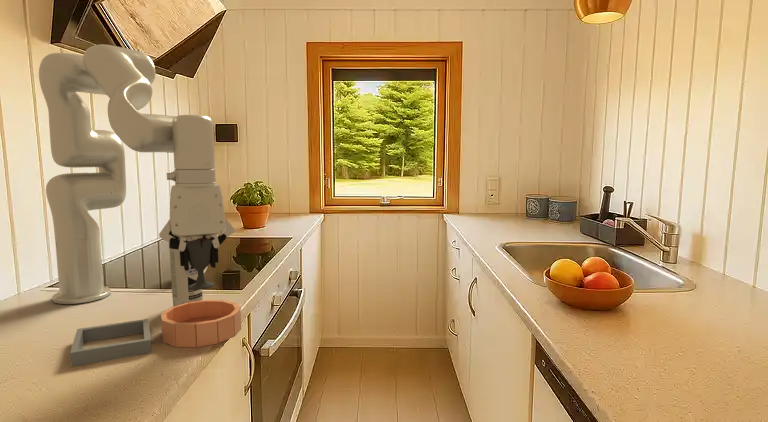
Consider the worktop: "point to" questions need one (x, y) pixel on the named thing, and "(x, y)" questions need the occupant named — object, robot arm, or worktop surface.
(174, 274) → the spray can
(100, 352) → the gray square frame
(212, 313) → the bowl
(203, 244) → the sundae
